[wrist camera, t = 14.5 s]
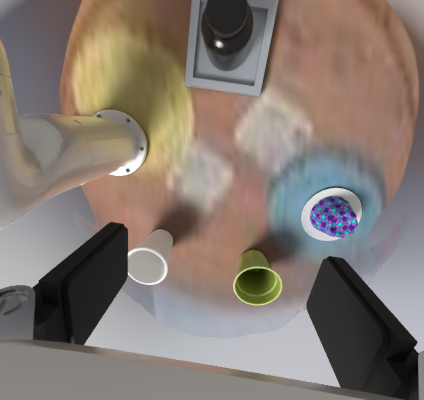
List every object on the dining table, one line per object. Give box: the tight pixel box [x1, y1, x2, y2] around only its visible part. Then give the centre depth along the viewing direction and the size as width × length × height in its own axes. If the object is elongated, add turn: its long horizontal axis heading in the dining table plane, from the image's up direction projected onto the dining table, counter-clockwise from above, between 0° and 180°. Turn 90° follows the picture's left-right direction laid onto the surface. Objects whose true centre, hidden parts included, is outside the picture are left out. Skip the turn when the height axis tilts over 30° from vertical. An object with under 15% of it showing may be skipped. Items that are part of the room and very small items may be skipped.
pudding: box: [301, 188, 362, 241], centre depth 41 cm, size 12×12×5 cm
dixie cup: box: [128, 229, 173, 285], centre depth 44 cm, size 8×8×10 cm
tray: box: [185, 0, 279, 97], centre depth 34 cm, size 13×13×2 cm
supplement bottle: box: [201, 0, 254, 71], centre depth 29 cm, size 7×7×12 cm
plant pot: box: [233, 250, 282, 305], centre depth 44 cm, size 9×9×9 cm
